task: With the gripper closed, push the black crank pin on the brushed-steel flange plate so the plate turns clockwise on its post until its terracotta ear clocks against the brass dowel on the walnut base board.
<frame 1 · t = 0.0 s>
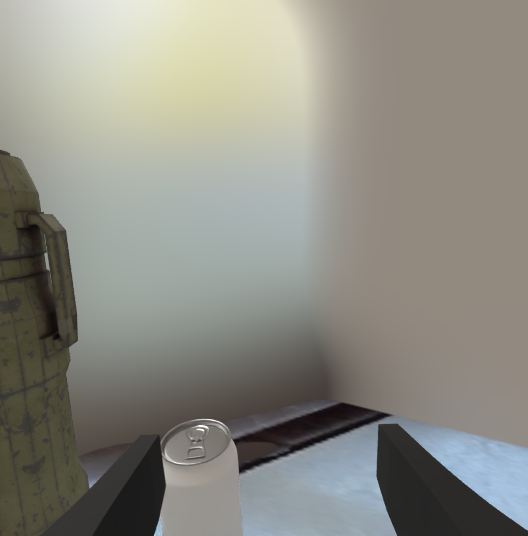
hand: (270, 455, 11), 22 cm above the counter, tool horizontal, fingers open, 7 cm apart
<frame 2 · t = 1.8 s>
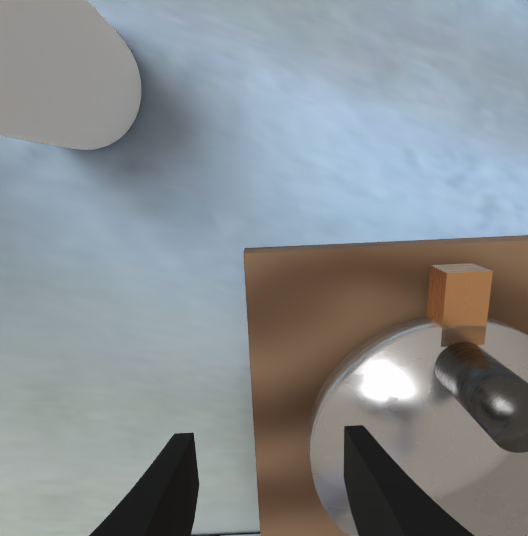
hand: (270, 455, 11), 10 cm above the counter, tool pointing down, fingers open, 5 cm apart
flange: (468, 454, 16), point 7 cm above the counter, hinge at 0.0°
base board: (405, 391, 22), on the counter
can: (84, 87, 18), on the counter
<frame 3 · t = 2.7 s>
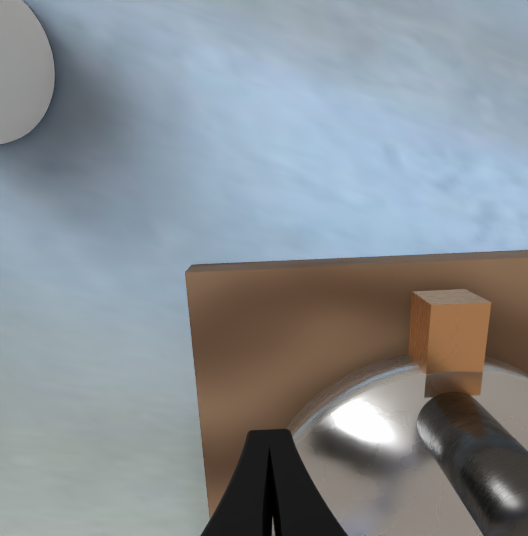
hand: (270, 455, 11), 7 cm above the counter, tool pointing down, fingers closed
base board: (388, 432, 19), on the counter
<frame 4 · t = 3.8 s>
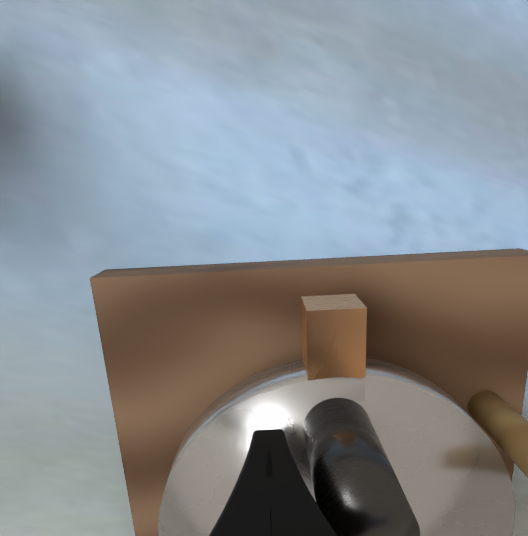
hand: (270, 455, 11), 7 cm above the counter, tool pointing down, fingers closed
base board: (314, 436, 19), on the counter
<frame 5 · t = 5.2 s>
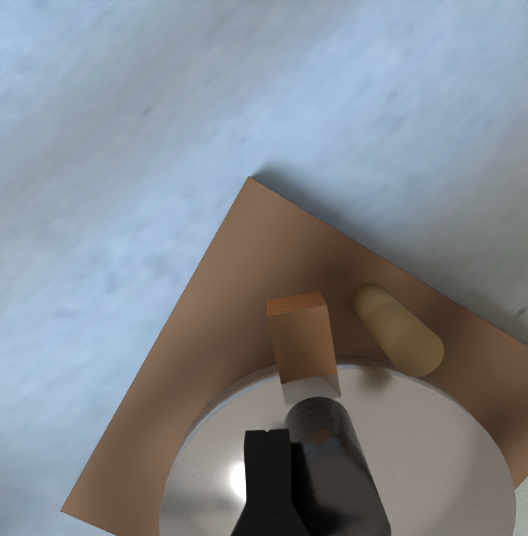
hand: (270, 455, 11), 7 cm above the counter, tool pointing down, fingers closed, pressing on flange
base board: (315, 434, 19), on the counter
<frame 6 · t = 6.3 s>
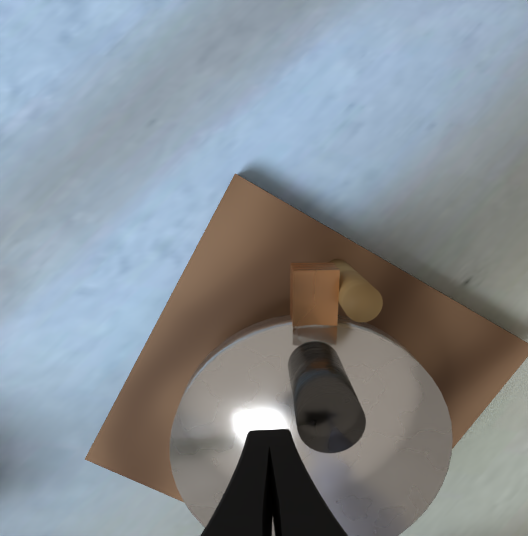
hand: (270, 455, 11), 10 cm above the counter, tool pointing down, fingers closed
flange: (315, 454, 15), point 7 cm above the counter, hinge at 60.0°, touching base board
base board: (298, 390, 22), on the counter
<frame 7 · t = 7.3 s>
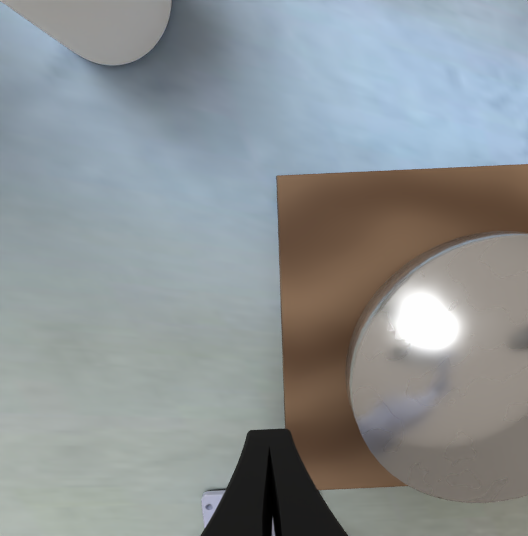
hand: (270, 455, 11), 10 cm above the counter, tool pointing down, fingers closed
base board: (441, 333, 21), on the counter
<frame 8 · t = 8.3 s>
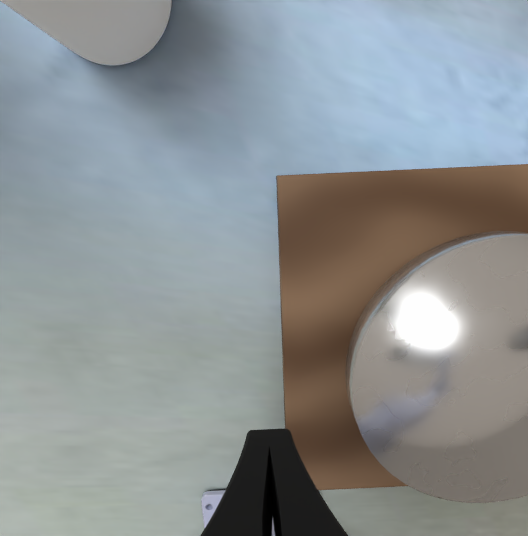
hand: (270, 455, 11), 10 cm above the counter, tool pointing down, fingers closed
base board: (441, 333, 21), on the counter
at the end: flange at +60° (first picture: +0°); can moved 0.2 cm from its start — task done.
